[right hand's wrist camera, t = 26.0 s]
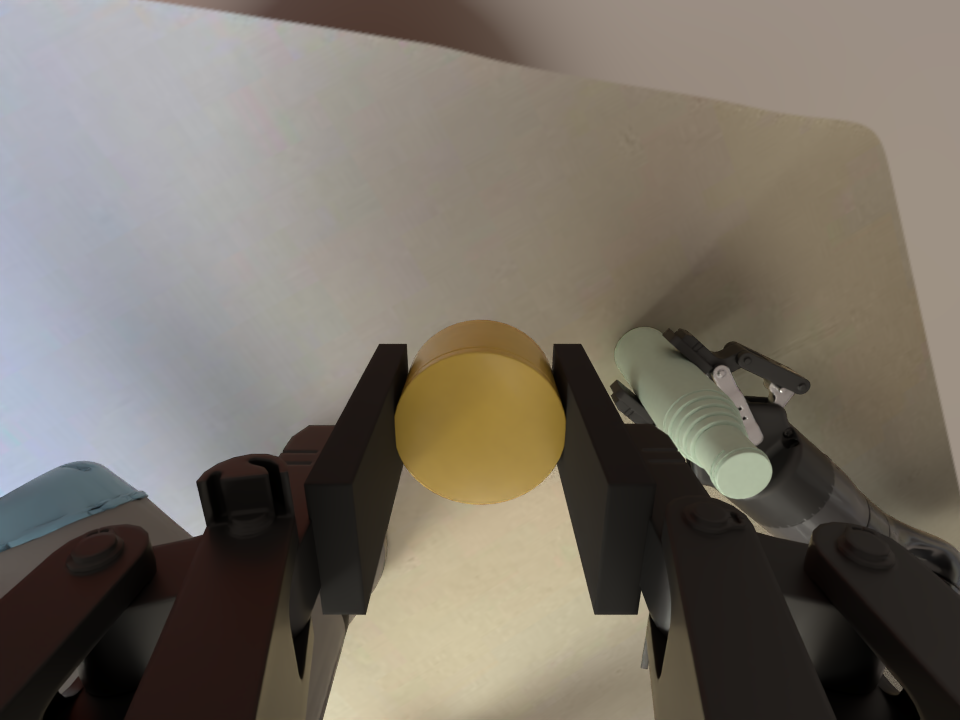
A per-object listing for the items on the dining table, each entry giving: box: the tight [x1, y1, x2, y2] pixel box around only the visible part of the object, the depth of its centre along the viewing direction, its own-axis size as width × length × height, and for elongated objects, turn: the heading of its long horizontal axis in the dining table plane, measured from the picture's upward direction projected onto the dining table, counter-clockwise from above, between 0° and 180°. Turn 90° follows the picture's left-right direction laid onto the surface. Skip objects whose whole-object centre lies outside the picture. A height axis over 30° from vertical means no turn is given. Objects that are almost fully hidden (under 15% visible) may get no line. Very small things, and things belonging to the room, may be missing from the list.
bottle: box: [614, 327, 772, 499], centre depth 36 cm, size 5×5×18 cm
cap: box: [394, 320, 566, 505], centre depth 13 cm, size 4×4×2 cm
